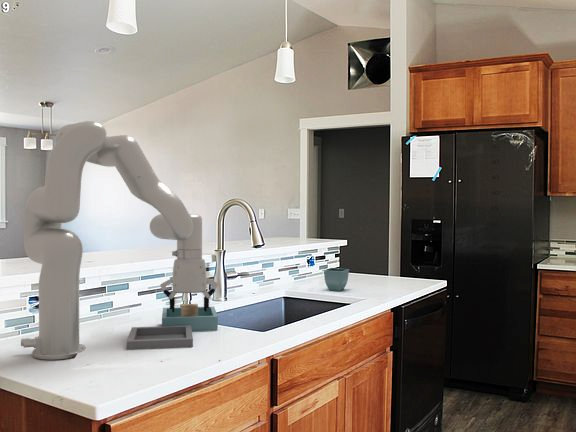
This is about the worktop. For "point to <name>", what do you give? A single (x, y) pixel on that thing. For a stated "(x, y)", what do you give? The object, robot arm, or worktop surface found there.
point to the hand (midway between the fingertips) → (189, 310)
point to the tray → (191, 319)
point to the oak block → (189, 310)
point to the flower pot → (336, 278)
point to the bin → (160, 337)
